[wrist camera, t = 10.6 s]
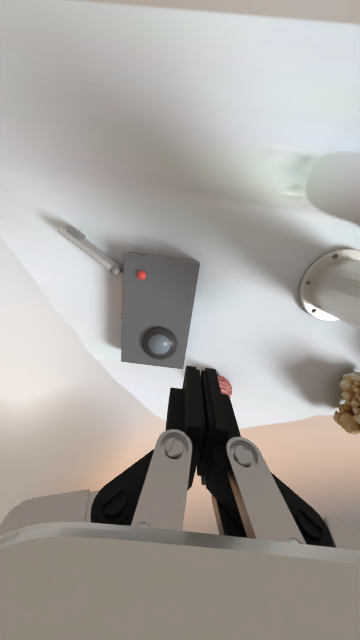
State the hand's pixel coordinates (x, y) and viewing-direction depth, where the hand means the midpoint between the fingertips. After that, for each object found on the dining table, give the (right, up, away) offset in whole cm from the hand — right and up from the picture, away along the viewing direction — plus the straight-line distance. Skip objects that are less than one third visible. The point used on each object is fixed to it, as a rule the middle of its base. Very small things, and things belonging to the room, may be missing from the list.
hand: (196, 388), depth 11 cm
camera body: (-5, +6, +27) cm, 28 cm away
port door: (-15, +16, +23) cm, 32 cm away
